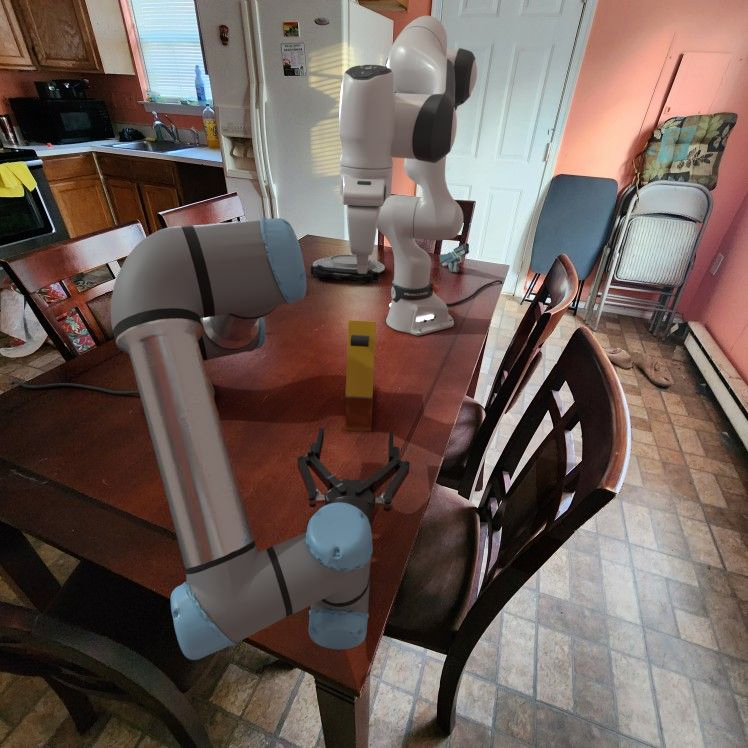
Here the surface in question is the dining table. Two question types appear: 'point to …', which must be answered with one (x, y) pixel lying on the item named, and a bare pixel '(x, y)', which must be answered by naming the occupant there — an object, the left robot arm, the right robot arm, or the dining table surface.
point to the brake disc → (345, 269)
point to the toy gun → (455, 257)
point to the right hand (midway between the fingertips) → (363, 263)
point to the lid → (360, 358)
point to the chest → (359, 413)
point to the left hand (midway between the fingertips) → (356, 434)
